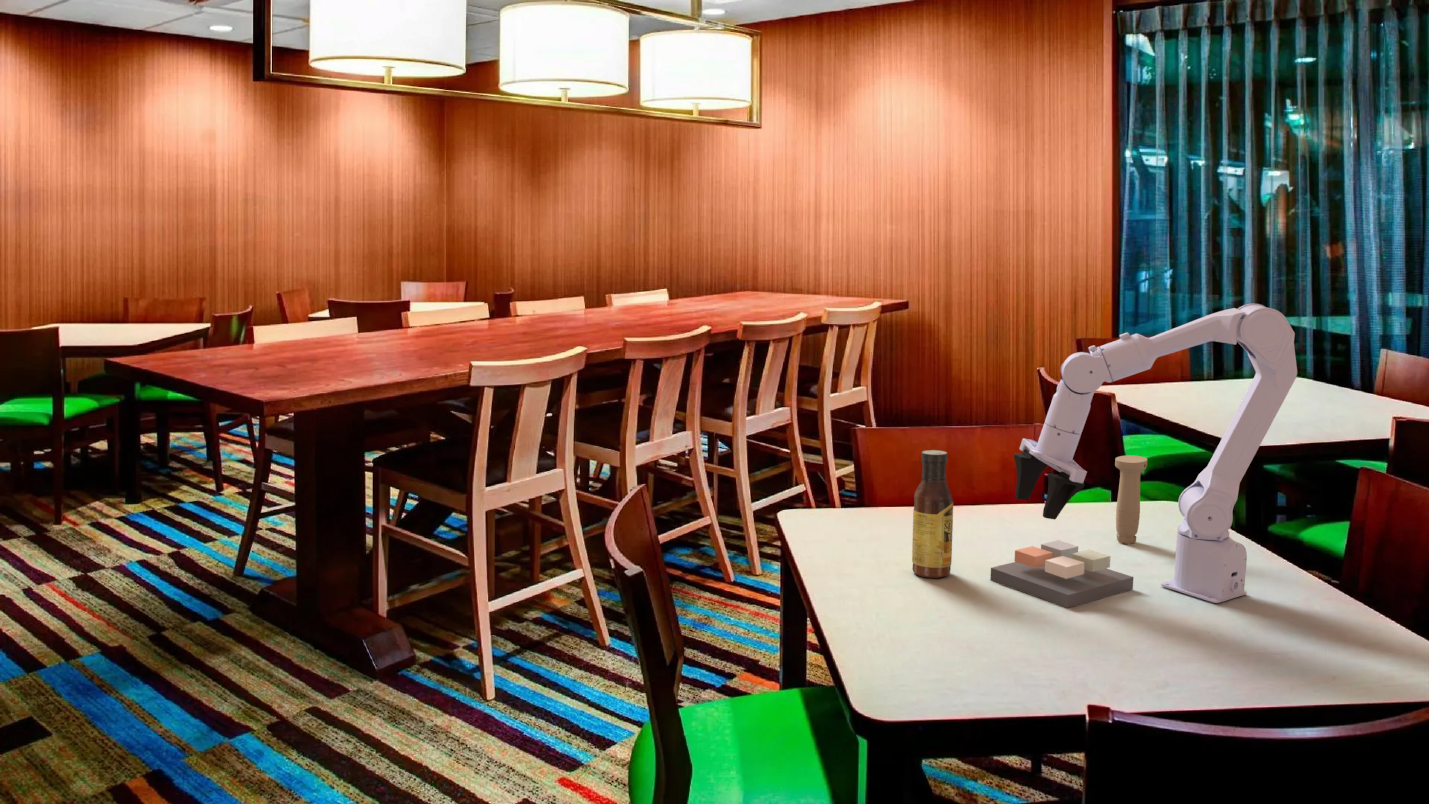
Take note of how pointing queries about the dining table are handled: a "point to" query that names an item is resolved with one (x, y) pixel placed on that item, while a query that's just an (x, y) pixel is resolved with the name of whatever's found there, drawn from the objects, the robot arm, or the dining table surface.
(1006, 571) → the keypad base
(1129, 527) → the handle
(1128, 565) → the dining table surface
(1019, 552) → the key terracotta
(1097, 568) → the key sage
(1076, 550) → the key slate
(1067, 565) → the key cream
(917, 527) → the sauce bottle
